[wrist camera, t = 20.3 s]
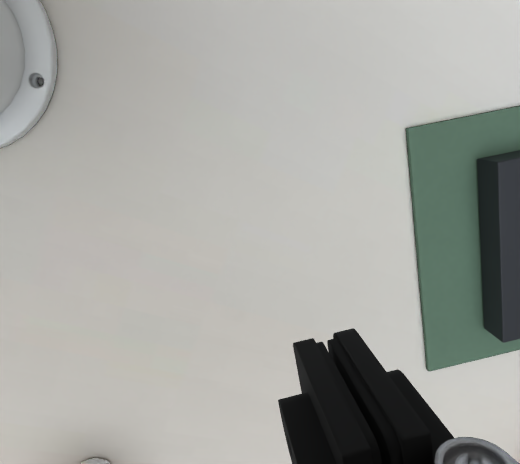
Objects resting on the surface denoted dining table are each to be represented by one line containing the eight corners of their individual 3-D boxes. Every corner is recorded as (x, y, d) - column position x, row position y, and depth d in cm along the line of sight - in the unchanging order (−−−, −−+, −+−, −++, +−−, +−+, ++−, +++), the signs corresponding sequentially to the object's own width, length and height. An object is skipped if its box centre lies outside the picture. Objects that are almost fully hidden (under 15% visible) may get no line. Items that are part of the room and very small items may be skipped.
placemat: (405, 128, 31) (407, 128, 31) (573, 94, 32) (578, 94, 32) (426, 369, 36) (428, 371, 36) (569, 334, 37) (573, 336, 37)
